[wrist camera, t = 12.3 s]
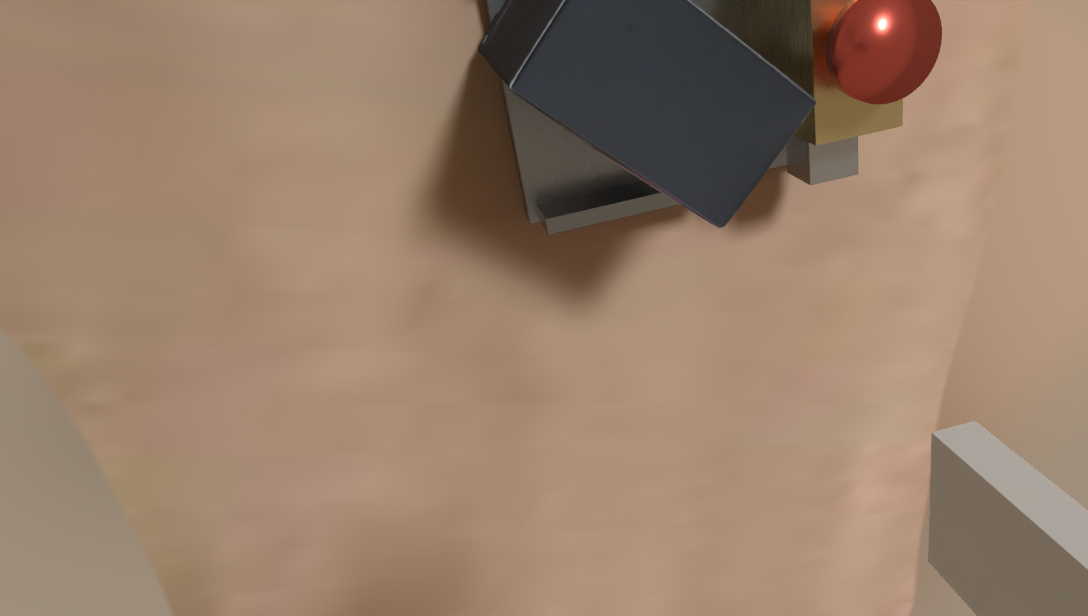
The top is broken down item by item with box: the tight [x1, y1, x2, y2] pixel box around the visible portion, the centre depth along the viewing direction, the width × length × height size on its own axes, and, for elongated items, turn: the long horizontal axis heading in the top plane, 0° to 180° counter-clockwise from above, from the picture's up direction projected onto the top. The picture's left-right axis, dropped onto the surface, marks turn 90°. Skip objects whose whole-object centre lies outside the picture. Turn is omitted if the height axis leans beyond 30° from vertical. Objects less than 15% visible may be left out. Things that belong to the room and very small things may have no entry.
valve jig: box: [485, 0, 942, 235], centre depth 36 cm, size 16×14×10 cm
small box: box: [478, 0, 817, 228], centre depth 35 cm, size 11×6×10 cm, turn 56°
